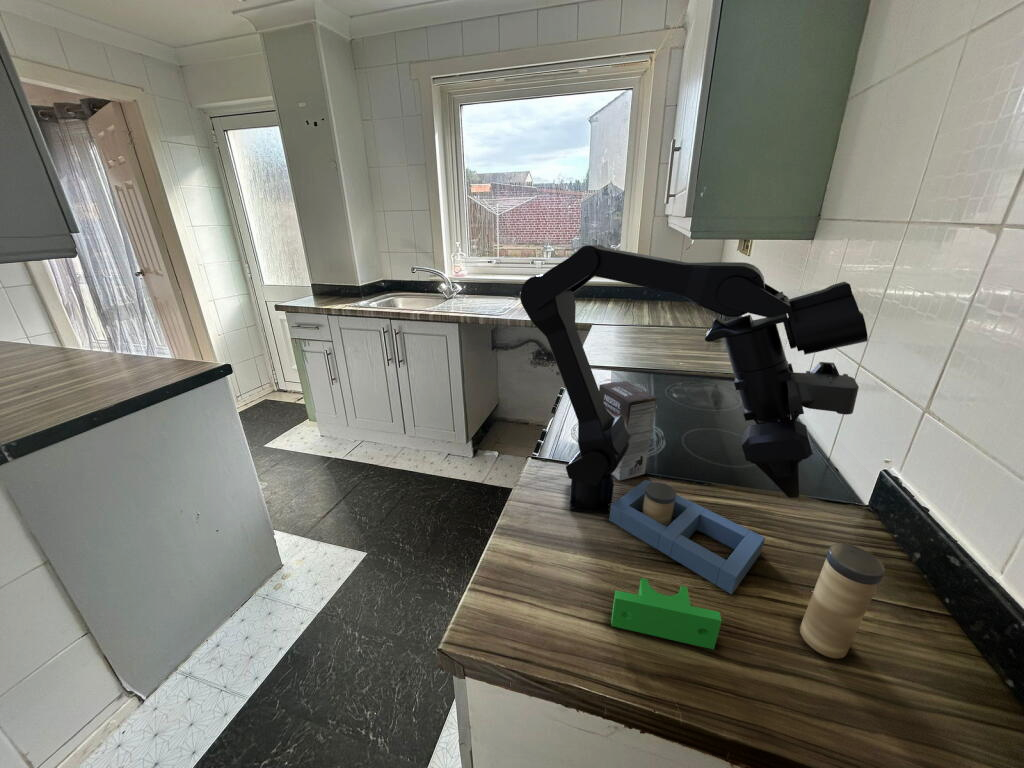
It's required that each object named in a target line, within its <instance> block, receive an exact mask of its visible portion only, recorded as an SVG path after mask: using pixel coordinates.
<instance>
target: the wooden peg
mask: <svg viewBox="0 0 1024 768" xmlns="http://www.w3.org/2000/svg"><path fill="white" fill-rule="evenodd" d="M825 556H826V557H825V560H824V563H823V565H822V568H821V571H820V573H819V576H818V579H817V581H816V584H815V587H814V589H813V592H812V594H811V596H810V600H809V603H808V605H807V608H806V610H805V612H804V616H803V618H802V622H801V623H800V626H799V633H800V636H801V637H802V639H803V640H804V642H805V643H806V644H807V645H808V646H809V647H810V648H811V649H813V650H814V651H816V652H817V653H818V654H821V655H823V656H825V657H828V658H830V659H843V658H845V657H846V656H847V654H848V652H849V649H850V648H851V645H852V643H853V641H854V639H855V637H856V634H857V632H858V630H859V628H860V625H861V623H862V621H863V619H864V617H865V614H866V612H867V610H868V608H869V606H870V604H871V602H872V600H873V597H874V595H875V593H876V590H877V588H878V586H879V585H880V584H879V583H880V582H881V581H882V580H883V577H884V575H885V572H886V569H885V566H884V564H883V563H882V562H881V561H880V559H878V558H877V557H876V556H875V555H874V554H872V553H871V552H869V551H867V550H866V549H864V548H861V547H858V546H856V545H853V544H850V543H846V542H836V543H833V544H831V545H829V548H828V550H827V553H826V555H825Z"/></svg>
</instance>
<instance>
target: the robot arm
mask: <svg viewBox="0 0 1024 768" xmlns="http://www.w3.org/2000/svg"><path fill="white" fill-rule="evenodd" d="M594 277H597V278H601V279H607V280H611V281H616V282H619V283H624V284H629V285H634V286H639V287H643V288H648V289H653V290H657V291H661V292H667V293H672V294H675V295H677V296H680V297H682V298H684V299H686V300H687V301H690V302H691V303H694V304H696V305H697V306H699V307H702V308H703V309H706V310H709V311H712V312H713V313H717V314H719V315H721V316H725V317H729V318H733V319H729V320H724V319H722V318H720V317H718V316H717V317H714V319H713V321H712V325H711V328H710V329H709V330H708V332H707V333H706V335H705V337H704V341H705V342H707V343H710V342H714V341H717V340H720V339H723V341H724V345H725V348H726V352H727V355H728V358H729V359H728V360H729V362H730V366H731V368H732V371H733V375H734V381H733V385H734V387H735V391H739V395H740V398H741V401H742V405H743V417H744V420H745V422H748V421H754V422H755V424H749V425H748V427H747V428H746V429H745V431H744V432H743V433H742V438H741V439H742V440H741V448H742V452H743V455H744V458H745V461H746V462H748V463H749V462H750V463H751V464H754V465H755V466H756V467H758V468H759V469H760V471H762V472H763V473H764V475H766V476H767V477H768V478H769V479H770V480H771V481H772V482H773V483H774V484H775V486H776V487H778V489H779V490H780V491H781V492H782V493H783V494H784V495H785V496H786V497H787V498H789V499H796V498H800V471H799V467H800V466H799V465H800V463H801V462H802V461H803V460H807V459H809V458H810V457H811V456H812V455H814V453H813V448H812V447H813V446H812V443H811V438H810V435H809V432H808V427H807V425H806V424H805V423H803V422H801V421H798V420H797V419H798V418H799V417H800V415H805V411H804V408H806V409H810V410H818V411H826V412H835V413H837V414H838V415H852V414H854V410H855V406H856V402H857V396H858V392H859V388H860V387H859V385H858V383H857V381H856V379H855V378H854V377H852V376H849V374H848V373H843V374H840V372H839V370H838V368H837V366H836V364H835V362H828V361H827V362H826V361H818V363H817V364H816V366H814V368H813V369H812V370H811V371H810V370H806V371H805V372H794V371H795V370H794V368H793V364H792V362H791V363H789V362H788V360H787V357H786V353H785V349H784V346H783V343H782V339H781V336H780V332H779V328H778V325H779V324H783V327H784V330H785V334H786V338H787V341H788V343H789V344H788V345H789V348H790V349H791V350H793V349H796V351H797V352H802V351H803V355H805V356H806V355H810V354H814V353H819V352H824V351H829V350H833V349H839V348H842V347H847V346H853V345H856V344H862V343H866V342H868V340H869V339H868V337H869V336H868V329H867V325H866V320H865V317H864V314H863V313H862V311H860V309H859V305H858V303H857V300H856V298H855V296H854V294H853V290H852V287H851V284H850V283H849V282H847V281H841V282H838V283H835V284H832V285H829V286H827V287H824V288H823V289H820V290H816V291H813V292H810V293H806V294H803V295H799V296H796V297H792V298H789V297H788V296H787V295H785V294H784V292H783V291H779V290H777V289H775V288H774V287H772V286H771V285H769V284H767V283H766V282H765V277H764V275H763V273H762V271H761V270H760V269H759V267H757V266H755V264H751V263H749V262H744V261H743V262H742V261H741V262H734V261H732V262H727V261H717V262H716V261H715V262H714V261H712V262H711V261H710V262H687V261H681V260H676V259H674V260H673V259H670V258H665V257H658V256H653V255H647V254H642V253H637V252H631V251H625V250H621V249H616V248H615V249H614V248H610V247H607V246H604V245H601V244H587V245H586V244H585V245H583V246H581V247H579V249H578V250H576V251H575V252H574V253H573V254H572V255H571V256H569V257H568V258H566V259H565V260H563V261H562V262H560V263H558V264H556V265H555V266H553V267H551V269H549V270H547V271H546V272H544V273H543V274H539V275H534V276H531V277H529V278H528V279H526V280H525V281H524V283H523V285H522V287H521V290H520V292H519V300H520V303H521V306H522V308H523V309H524V311H525V313H526V315H527V317H528V318H529V320H530V322H531V323H532V325H534V326H535V327H536V329H538V330H539V331H540V333H542V334H543V335H544V337H545V338H546V341H547V342H548V345H549V348H550V350H551V353H552V356H553V358H554V361H555V363H556V366H557V369H558V372H559V374H560V377H561V380H562V382H563V385H564V387H565V390H566V392H567V395H568V398H569V400H570V403H571V406H572V408H573V411H574V415H575V416H576V420H577V424H578V426H577V445H578V451H577V452H576V454H575V455H574V456H573V457H572V459H571V460H570V461H569V462H568V463H567V464H566V466H565V470H566V473H567V477H568V478H569V479H570V485H569V496H568V497H569V499H568V509H569V510H570V511H574V512H584V513H593V514H602V515H609V514H610V505H612V504H613V503H612V502H613V495H614V487H615V484H614V483H615V482H614V475H612V474H611V473H612V472H614V471H615V469H616V468H617V466H618V464H619V463H620V461H621V460H622V458H623V456H624V455H625V453H626V452H627V450H628V447H629V442H628V441H629V439H630V438H631V436H630V434H629V433H628V432H627V430H626V428H625V424H624V419H623V416H618V417H616V418H614V417H613V416H612V415H611V414H610V413H609V412H608V411H607V410H606V408H605V405H604V403H603V400H602V397H601V395H600V392H599V387H598V386H599V385H598V384H597V381H596V378H595V376H594V373H593V371H592V368H591V365H590V362H589V359H588V356H587V354H586V351H585V349H584V345H583V343H582V340H581V338H580V335H579V332H578V329H577V327H576V308H577V307H576V306H577V305H576V300H575V294H574V293H575V292H577V291H578V290H579V289H581V288H582V287H584V286H585V285H586V284H587V283H588V282H589V281H591V280H592V279H593V278H594ZM746 314H747V315H746ZM752 315H756V316H760V317H762V318H758V319H757V318H756V319H753V317H752Z"/></svg>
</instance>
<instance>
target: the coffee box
mask: <svg viewBox="0 0 1024 768" xmlns="http://www.w3.org/2000/svg"><path fill="white" fill-rule="evenodd" d="M598 386H599V387H598V389H599V392H600V395H601V397H602V400H603V403H604V405H605V408H606V410H607V411H608V412H609V413H610V414H611V415H612V416H613V417H614V418H616V417H618V416H623V419H624V424H625V428H626V430H627V432H628V433H629V434H630V436H631V438H630V439H629V441H628V442H629V447H628V450H627V452H626V453H625V455H624V456H623V458H622V460H621V461H620V463H619V464H618V466H617V468H616V469H615V471H614V472H612V473H611V475H612V476H613V477H615V479H616V480H618V481H619V482H620V481H624V480H627V479H631V478H635V477H639V476H643V475H645V474H646V468H647V462H648V455H649V450H650V444H651V438H652V432H653V426H654V420H655V413H656V409H657V402H658V396H654V395H653V394H651V393H650V392H648V391H646V390H643V388H640V387H638V386H637V385H635V384H632V383H631V382H629V381H627V380H622V381H613V382H606V383H602V384H599V385H598Z"/></svg>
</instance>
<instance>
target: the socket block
mask: <svg viewBox="0 0 1024 768" xmlns="http://www.w3.org/2000/svg"><path fill="white" fill-rule="evenodd" d="M649 483H653V482H652V481H650V480H648V479H644V480H643V481H642V482H640V483H639V484H638V485H636V486H635V487H633V488H632V489H631V490H630V491H628V492H627V493H625V494H623V496H621V497H620V498H618V499H617V500H616V501H614V502H613V503H611V504H610V508H609V517H608V520H609V522H611V523H613V524H614V525H616V526H618V527H619V528H621V529H623V530H625V532H628V533H629V534H631V535H633V536H634V537H636V538H637V539H639V540H641V541H642V542H644V543H645V544H648V545H649V546H651V547H652V548H654V549H655V550H658V551H659V552H661V553H663V554H664V555H665V556H667V557H669V558H670V559H672V560H674V561H676V563H678V564H680V565H682V566H684V567H685V568H687V569H689V570H690V571H692V572H693V573H695V574H697V575H699V576H700V577H702V578H703V579H705V580H707V581H709V582H710V583H712V584H713V585H716V586H717V587H718V588H720V589H721V590H723V591H725V592H726V593H728V594H730V595H733V593H734V592H735V591H736V590H737V588H738V587H739V585H740V584H741V582H742V581H743V579H744V578H745V577H746V575H747V574H748V572H749V571H750V569H751V568H752V567H753V565H754V564H755V562H756V561H757V559H758V558H759V557H760V555H761V553H762V550H763V547H764V543H765V541H766V537H765V536H763V535H761V534H759V533H757V532H755V531H753V530H751V529H749V528H746V527H744V526H742V525H740V524H739V523H737V522H734V521H733V520H730V519H728V518H726V517H724V516H722V515H720V514H718V513H716V512H713V511H712V510H710V509H707V508H705V507H704V506H701V505H699V504H697V503H696V502H693V501H692V500H691V501H690V500H689V499H687V498H685V497H683V496H681V495H679V494H677V493H676V499H675V503H674V508H673V513H672V518H674V519H673V521H671V524H670V525H669V526H668V527H666V526H664V525H663V524H661V523H659V522H657V521H655V520H654V519H652V518H650V517H648V516H646V515H645V514H643V513H642V510H643V503H644V497H645V488H646V486H647V485H648V484H649ZM696 531H698V532H700V533H702V534H704V535H706V536H708V537H710V538H712V539H714V540H716V541H717V542H719V543H720V544H723V545H725V546H727V547H728V548H731V550H733V551H732V553H731V554H730V555H729V557H728V558H727V559H726V558H723V557H722V556H720V555H719V554H716V553H715V552H713V551H711V550H709V549H707V548H705V547H704V546H702V545H700V544H699V543H696V542H695V541H693V540H692V539H690V537H691V536H692V535H693V534H694V533H695V532H696Z"/></svg>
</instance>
